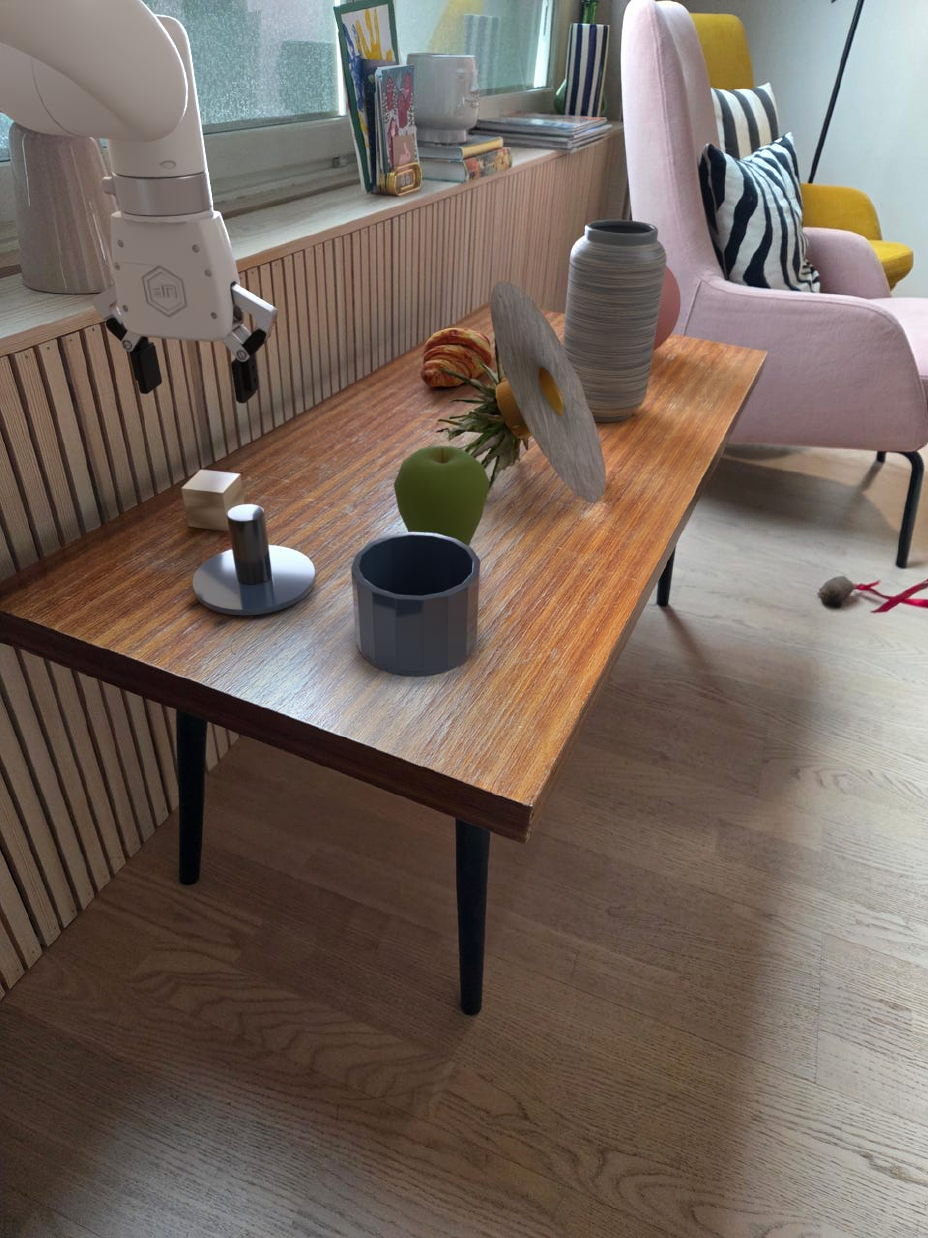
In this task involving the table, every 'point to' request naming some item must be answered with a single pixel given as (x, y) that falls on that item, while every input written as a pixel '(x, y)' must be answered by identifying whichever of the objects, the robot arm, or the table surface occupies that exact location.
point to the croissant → (455, 356)
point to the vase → (614, 314)
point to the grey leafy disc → (531, 399)
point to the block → (211, 498)
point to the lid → (252, 570)
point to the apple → (442, 492)
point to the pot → (416, 602)
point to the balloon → (667, 309)
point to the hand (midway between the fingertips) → (198, 393)
